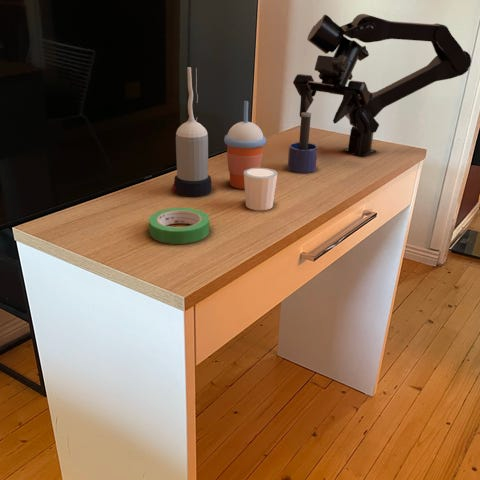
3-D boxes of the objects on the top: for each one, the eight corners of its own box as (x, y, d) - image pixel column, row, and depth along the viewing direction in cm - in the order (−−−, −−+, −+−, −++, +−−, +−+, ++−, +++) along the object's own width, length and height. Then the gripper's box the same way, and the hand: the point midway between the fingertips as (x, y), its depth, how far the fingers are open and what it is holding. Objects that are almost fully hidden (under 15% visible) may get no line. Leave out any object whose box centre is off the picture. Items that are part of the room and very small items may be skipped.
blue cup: (299, 162, 145) (301, 140, 142) (321, 169, 141) (323, 146, 139) (282, 168, 141) (283, 145, 138) (303, 175, 137) (305, 151, 134)
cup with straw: (265, 179, 134) (269, 97, 124) (262, 192, 126) (266, 106, 117) (226, 177, 135) (227, 96, 125) (221, 190, 127) (221, 104, 117)
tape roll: (159, 248, 101) (158, 234, 100) (142, 225, 110) (141, 211, 108) (218, 239, 105) (218, 225, 103) (197, 217, 113) (197, 204, 112)
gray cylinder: (301, 164, 142) (305, 111, 136) (308, 166, 141) (313, 113, 134) (295, 166, 141) (299, 113, 134) (302, 168, 140) (307, 114, 133)
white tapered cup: (279, 202, 122) (281, 169, 118) (270, 213, 116) (272, 179, 112) (248, 197, 123) (249, 165, 120) (238, 208, 118) (238, 175, 114)
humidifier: (166, 190, 126) (160, 66, 113) (193, 181, 131) (191, 62, 118) (191, 199, 122) (188, 72, 108) (219, 190, 127) (219, 67, 113)
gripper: (299, 37, 139) (272, 94, 137) (370, 44, 130) (343, 104, 128) (313, 68, 148) (288, 121, 147) (380, 76, 139) (355, 133, 138)
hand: (317, 119), depth 139 cm, fingers open, 9 cm apart
